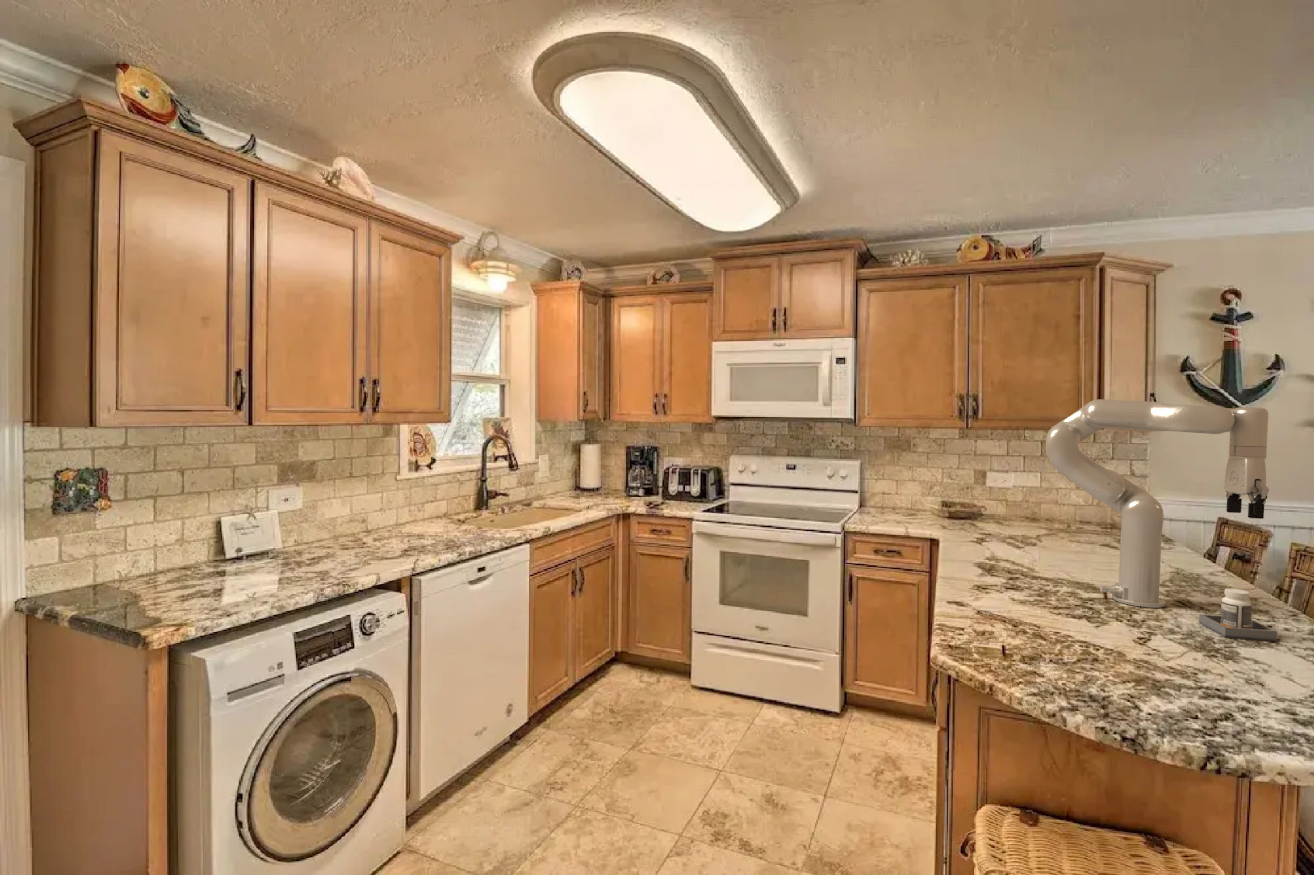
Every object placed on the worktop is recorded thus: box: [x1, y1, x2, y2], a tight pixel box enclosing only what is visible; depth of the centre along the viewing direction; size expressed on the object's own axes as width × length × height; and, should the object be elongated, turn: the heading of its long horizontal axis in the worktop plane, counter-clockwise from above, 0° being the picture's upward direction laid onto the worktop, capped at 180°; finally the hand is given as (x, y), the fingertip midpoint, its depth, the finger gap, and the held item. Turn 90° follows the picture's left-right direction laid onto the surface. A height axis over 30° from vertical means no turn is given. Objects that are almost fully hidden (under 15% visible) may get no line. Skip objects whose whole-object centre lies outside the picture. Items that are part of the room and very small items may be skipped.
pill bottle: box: [1220, 588, 1253, 629], centre depth 163 cm, size 6×6×10 cm
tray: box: [1198, 613, 1278, 642], centre depth 163 cm, size 11×11×2 cm
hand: (1244, 515), depth 175 cm, fingers open, 9 cm apart
